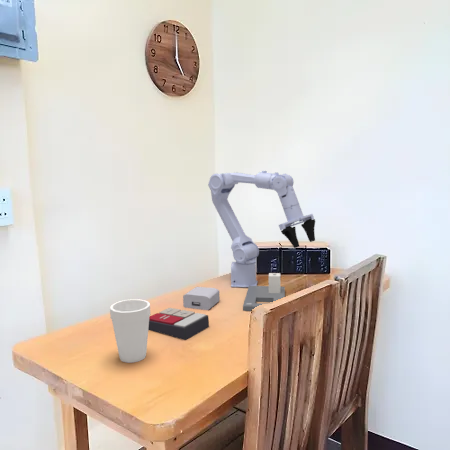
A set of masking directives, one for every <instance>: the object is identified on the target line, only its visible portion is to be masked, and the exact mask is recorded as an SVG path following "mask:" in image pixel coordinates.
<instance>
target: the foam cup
mask: <svg viewBox="0 0 450 450" xmlns="http://www.w3.org/2000/svg"><path fill="white" fill-rule="evenodd" d="M109 308H110V309H109V313H110V319H111V322H112V328H113V332H114V338H115V341H116V343H115V344H116V347H117V352H118V357H119V360H120V361H121V362H123V363H127V364H128V363H131V364H133V363H137V362H140V361H142V360H144V359H145V358H146V357H147V350H148V337H149V330H148V328H149V317H150V316H151V304H150V301H147V300H145V299H139V298H132V299H130V298H129V299H123V300H119V301H117V302H114V303H113V304H111V305H110V307H109Z"/></svg>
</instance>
